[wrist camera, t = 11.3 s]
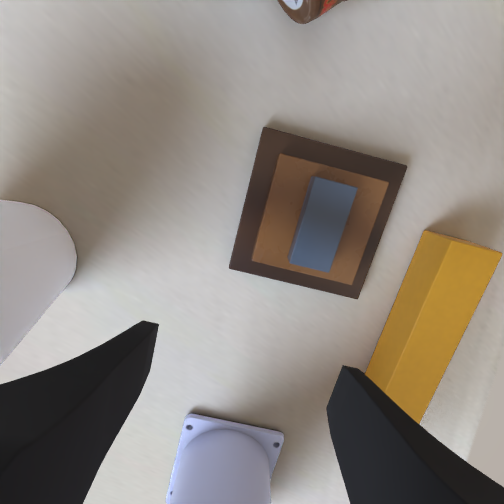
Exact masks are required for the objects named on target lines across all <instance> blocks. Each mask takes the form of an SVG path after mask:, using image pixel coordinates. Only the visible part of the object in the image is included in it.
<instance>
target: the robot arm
mask: <svg viewBox="0 0 504 504" xmlns="http://www.w3.org/2000/svg"><path fill="white" fill-rule="evenodd" d="M158 326H159V324H156V323H152V322H147V321H141V322H139V323H138V324H136V325H134V326H132V327H131V328H129V329H127V330H126V331H124V332H122V333H121V334H119V335H117V336H116V337H114V338H112V339H111V340H109V341H107V342H105V343H104V344H102V345H100V346H98V347H96V348H94V349H92V350H90V351H88V352H86V353H84V354H82V355H80V356H78V357H76V358H74V359H71V360H69V361H67V362H64V363H62V364H59V365H57V366H54V367H52V368H49V369H47V370H44V371H41V372H38V373H35V374H32V375H29V376H26V377H23V378H20V379H17V380H14V381H11V382H7V383H4V384H0V504H83V502H84V500H85V498H86V495H87V493H88V491H89V489H90V487H91V485H92V482H93V480H94V478H95V476H96V474H97V471H98V469H99V467H100V465H101V463H102V461H103V459H104V458H105V456H106V454H107V452H108V450H109V448H110V447H111V445H112V443H113V441H114V440H115V438H116V436H117V434H118V433H119V431H120V429H121V427H122V426H123V424H124V422H125V420H126V419H127V417H128V415H129V413H130V411H131V410H132V408H133V406H134V404H135V403H136V401H137V399H138V397H139V395H140V393H141V391H142V388H143V386H144V384H145V381H146V379H147V377H148V374H149V372H150V368H151V363H152V358H153V353H154V347H155V342H156V337H157V332H158ZM327 415H328V423H329V428H330V434H331V438H332V442H333V445H334V449H335V452H336V456H337V459H338V463H339V466H340V470H341V473H342V476H343V480H344V483H345V487H346V490H347V493H348V497H349V500H350V504H504V487H502V486H501V485H499V484H498V483H496V482H495V481H493V480H492V479H490V478H489V477H487V476H486V475H485V474H483V473H482V472H480V471H479V470H477V469H476V468H474V467H473V466H471V465H470V464H469V463H467V462H466V461H464V460H463V459H462V458H460V457H459V456H458V455H456V454H455V453H454V452H452V451H451V450H450V449H449V448H447V447H446V446H445V445H443V444H442V443H441V442H439V441H438V440H437V439H436V438H435V437H433V436H432V435H431V434H430V433H428V432H427V431H426V430H425V429H424V428H423V427H422V426H420V425H419V424H418V423H417V422H416V421H415V420H413V419H412V418H411V417H410V416H409V415H408V414H407V413H406V412H405V411H403V410H402V409H401V408H400V407H399V406H398V405H397V404H396V403H395V402H394V401H393V400H392V399H391V398H390V397H389V396H387V395H386V394H385V393H384V392H383V391H382V390H381V389H380V388H379V387H378V386H377V385H376V384H375V383H374V382H373V381H372V380H371V379H369V378H368V377H367V376H366V375H365V374H364V373H363V372H361V371H360V370H359V369H357V368H353V367H348V366H344V365H343V366H342V369H341V371H340V374H339V377H338V379H337V382H336V384H335V387H334V390H333V392H332V395H331V397H330V400H329V403H328V405H327ZM189 425H192V426H189ZM275 442H277V443H275ZM283 442H284V435H283V433H282V432H279V431H274V430H269V429H264V428H260V427H255V426H250V425H245V424H240V423H235V422H230V421H226V420H221V419H216V418H211V417H206V416H201V415H197V414H188V415H187V416H186V417H185V421H184V425H183V429H182V433H181V438H180V442H179V446H178V450H177V454H176V459H175V463H174V467H173V471H172V476H171V480H170V484H169V488H168V492H167V497H166V503H167V504H271V490H270V479H271V476H272V473H273V471H274V468H275V465H276V462H277V459H278V456H279V454H280V451H281V448H282V445H283Z"/></svg>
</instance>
